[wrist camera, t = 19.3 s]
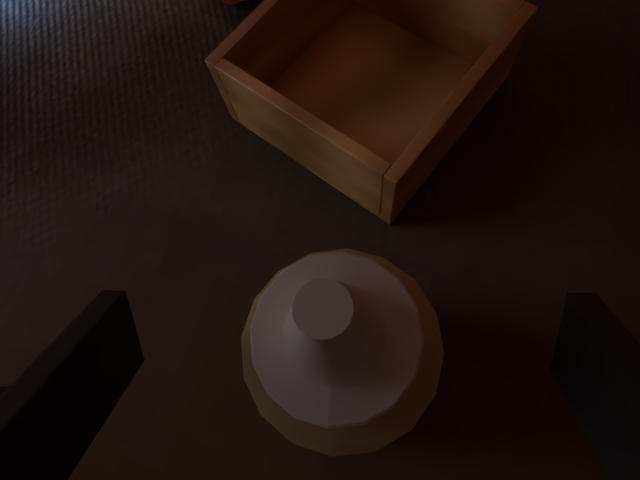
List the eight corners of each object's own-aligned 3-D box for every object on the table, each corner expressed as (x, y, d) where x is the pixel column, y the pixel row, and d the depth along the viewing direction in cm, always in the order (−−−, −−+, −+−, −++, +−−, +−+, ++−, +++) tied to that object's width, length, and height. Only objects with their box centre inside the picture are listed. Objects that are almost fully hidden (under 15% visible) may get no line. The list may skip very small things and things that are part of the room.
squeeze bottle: (320, 274, 27) (248, 74, 10) (446, 335, 25) (609, 213, 8) (254, 399, 25) (29, 405, 8) (386, 476, 23) (441, 683, 6)
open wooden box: (231, 117, 32) (203, 59, 26) (349, -7, 34) (346, -84, 29) (389, 225, 28) (396, 183, 22) (507, 75, 31) (538, 6, 25)
